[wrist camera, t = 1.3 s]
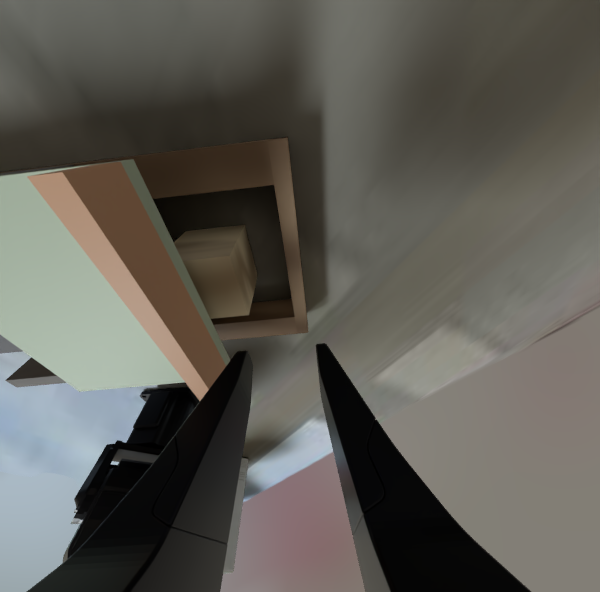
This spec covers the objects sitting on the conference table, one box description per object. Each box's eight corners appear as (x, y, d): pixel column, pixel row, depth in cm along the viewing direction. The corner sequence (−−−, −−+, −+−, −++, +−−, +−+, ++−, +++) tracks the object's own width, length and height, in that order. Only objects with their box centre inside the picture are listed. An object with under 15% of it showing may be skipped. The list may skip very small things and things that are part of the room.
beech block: (257, 275, 18) (248, 315, 14) (207, 280, 19) (184, 321, 15) (244, 224, 16) (229, 255, 12) (185, 230, 16) (151, 264, 12)
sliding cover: (234, 368, 17) (224, 412, 14) (87, 382, 17) (50, 426, 15) (133, 159, 8) (62, 171, 6) (-153, 194, 9) (-341, 221, 6)
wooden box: (306, 313, 21) (310, 361, 17) (71, 336, 22) (16, 387, 18) (287, 136, 13) (286, 140, 8) (-96, 183, 13) (-282, 209, 9)
